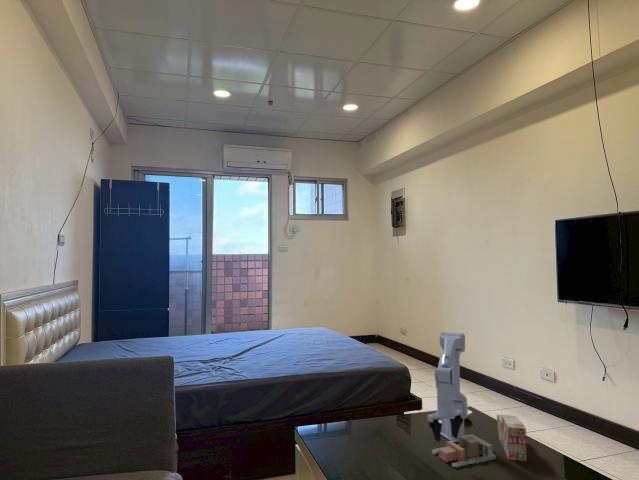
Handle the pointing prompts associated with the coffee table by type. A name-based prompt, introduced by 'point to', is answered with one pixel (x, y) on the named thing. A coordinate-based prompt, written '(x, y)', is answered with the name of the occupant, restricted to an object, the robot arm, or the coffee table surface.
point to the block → (469, 446)
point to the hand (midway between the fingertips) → (446, 438)
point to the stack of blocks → (512, 437)
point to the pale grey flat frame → (484, 450)
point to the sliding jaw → (452, 452)
